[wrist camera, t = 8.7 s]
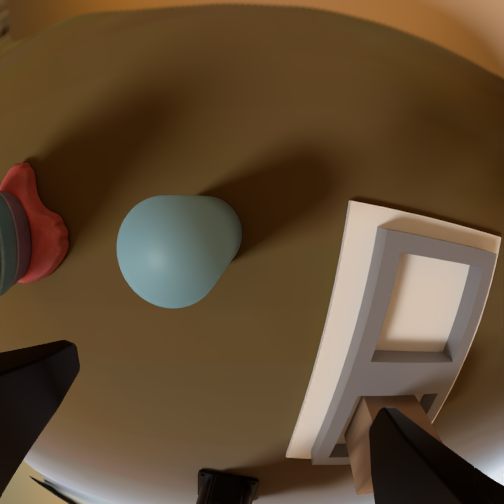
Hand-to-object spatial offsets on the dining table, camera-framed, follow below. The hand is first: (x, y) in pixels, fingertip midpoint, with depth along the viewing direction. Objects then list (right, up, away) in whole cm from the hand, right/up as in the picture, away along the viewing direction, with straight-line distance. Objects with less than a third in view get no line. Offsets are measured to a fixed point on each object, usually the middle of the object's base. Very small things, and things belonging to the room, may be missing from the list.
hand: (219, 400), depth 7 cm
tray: (+13, -5, +13) cm, 18 cm away
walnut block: (+12, -10, +13) cm, 20 cm away
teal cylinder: (-2, +5, +12) cm, 13 cm away
